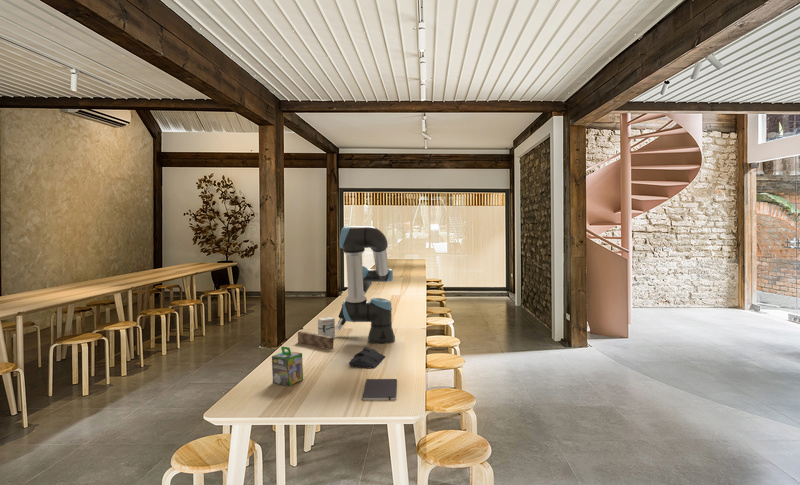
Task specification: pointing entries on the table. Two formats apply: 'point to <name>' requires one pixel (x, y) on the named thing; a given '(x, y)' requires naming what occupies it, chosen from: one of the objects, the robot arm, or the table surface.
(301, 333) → the walnut board
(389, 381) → the notebook
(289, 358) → the chalk box
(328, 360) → the table surface
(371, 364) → the dark slate chunk
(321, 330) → the ink box
